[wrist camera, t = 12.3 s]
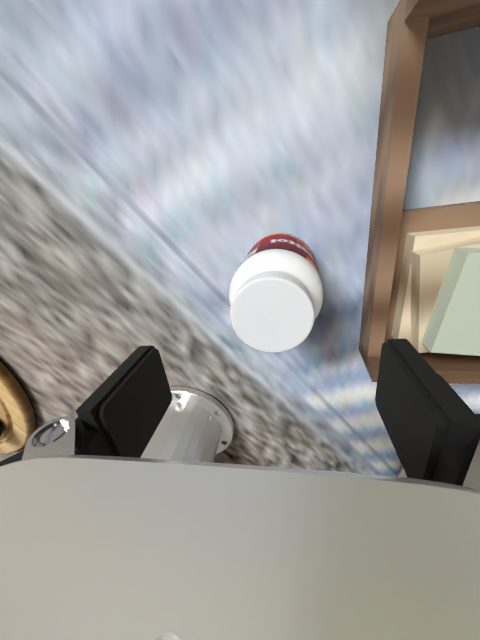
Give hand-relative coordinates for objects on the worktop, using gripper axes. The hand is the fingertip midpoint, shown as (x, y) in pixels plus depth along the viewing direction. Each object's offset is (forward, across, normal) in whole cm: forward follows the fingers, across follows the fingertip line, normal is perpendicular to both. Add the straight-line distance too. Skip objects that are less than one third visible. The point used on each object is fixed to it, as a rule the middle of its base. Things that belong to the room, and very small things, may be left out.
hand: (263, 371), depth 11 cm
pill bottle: (+15, 0, -1) cm, 15 cm away
